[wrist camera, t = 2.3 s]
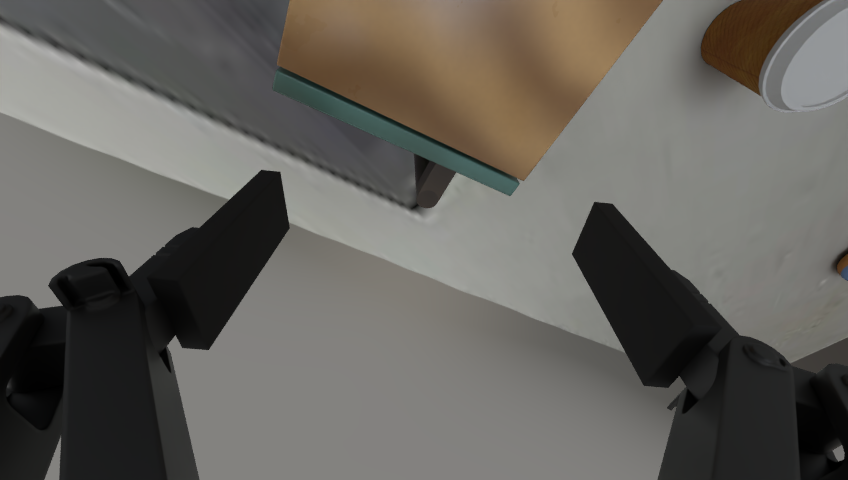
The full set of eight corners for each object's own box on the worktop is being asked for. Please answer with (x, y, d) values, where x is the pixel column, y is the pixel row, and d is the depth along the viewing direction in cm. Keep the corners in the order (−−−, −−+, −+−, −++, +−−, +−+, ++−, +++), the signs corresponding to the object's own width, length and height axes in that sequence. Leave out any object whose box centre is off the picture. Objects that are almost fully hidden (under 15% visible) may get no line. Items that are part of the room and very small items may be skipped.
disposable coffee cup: (805, -24, 34) (957, -18, 24) (749, 79, 40) (853, 114, 30) (711, -20, 33) (828, -13, 24) (670, 82, 40) (750, 119, 30)
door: (434, 134, 42) (457, 266, 24) (324, 82, 38) (249, 195, 19) (464, 77, 38) (520, 183, 20) (345, 11, 34) (275, 69, 15)
